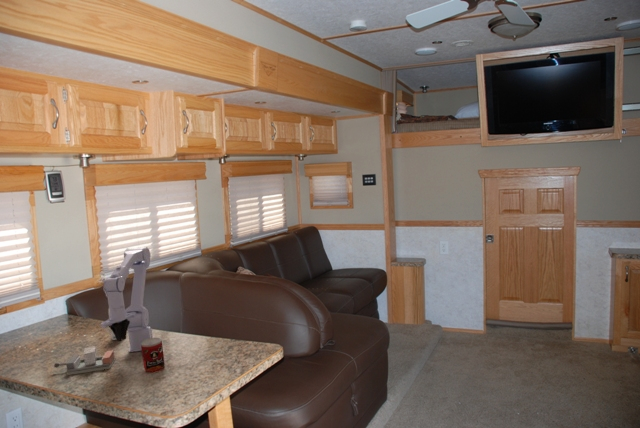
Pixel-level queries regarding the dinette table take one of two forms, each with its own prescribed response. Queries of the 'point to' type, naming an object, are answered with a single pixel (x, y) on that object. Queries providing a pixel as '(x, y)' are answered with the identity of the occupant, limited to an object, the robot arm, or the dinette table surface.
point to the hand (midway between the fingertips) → (121, 339)
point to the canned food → (152, 355)
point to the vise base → (83, 365)
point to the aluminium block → (90, 356)
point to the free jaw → (108, 357)
